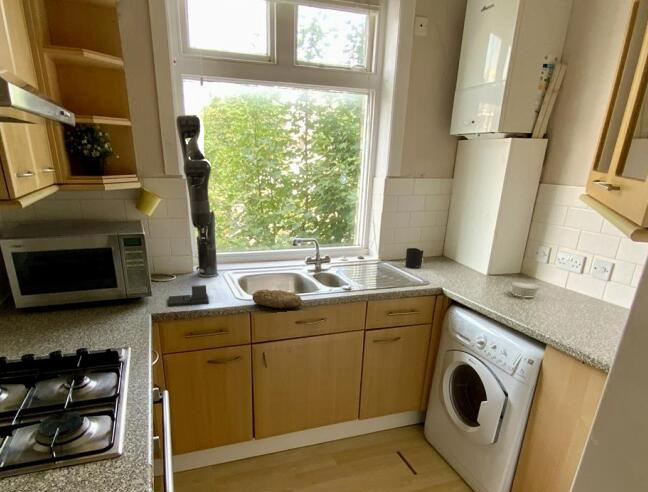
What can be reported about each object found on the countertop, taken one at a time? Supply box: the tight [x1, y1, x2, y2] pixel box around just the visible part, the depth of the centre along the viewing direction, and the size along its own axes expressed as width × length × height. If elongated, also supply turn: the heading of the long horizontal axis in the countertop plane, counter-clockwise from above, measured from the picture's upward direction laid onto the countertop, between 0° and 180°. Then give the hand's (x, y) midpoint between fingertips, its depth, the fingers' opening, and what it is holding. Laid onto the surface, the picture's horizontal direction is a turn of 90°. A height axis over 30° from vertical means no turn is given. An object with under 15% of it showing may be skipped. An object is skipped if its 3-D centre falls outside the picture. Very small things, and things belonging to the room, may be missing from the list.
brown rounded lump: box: [251, 289, 303, 309], centre depth 174 cm, size 13×8×20 cm
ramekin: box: [511, 281, 540, 299], centre depth 193 cm, size 11×11×5 cm
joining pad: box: [183, 284, 210, 306], centre depth 179 cm, size 10×10×6 cm
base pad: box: [167, 294, 192, 307], centre depth 178 cm, size 10×9×1 cm
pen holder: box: [405, 247, 424, 270], centre depth 239 cm, size 9×9×10 cm
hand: (203, 250), depth 178 cm, fingers open, 8 cm apart
